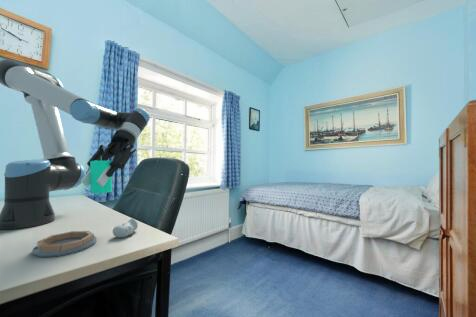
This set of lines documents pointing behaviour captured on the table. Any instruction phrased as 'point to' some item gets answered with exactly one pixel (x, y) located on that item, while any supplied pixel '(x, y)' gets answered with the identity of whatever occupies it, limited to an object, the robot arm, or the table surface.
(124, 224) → the grey curved figurine
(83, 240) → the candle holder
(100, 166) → the candle
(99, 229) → the table surface
